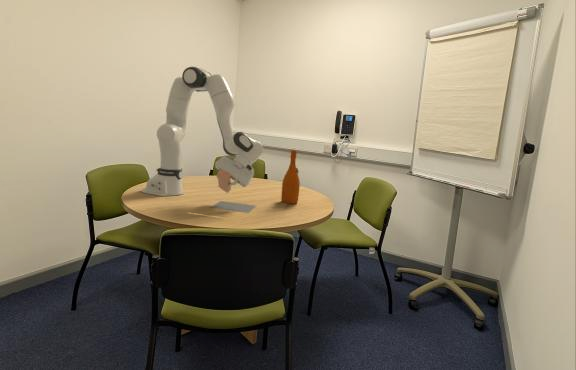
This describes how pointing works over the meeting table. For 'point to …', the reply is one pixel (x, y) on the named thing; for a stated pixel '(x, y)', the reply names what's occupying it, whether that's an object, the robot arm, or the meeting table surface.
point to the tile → (224, 180)
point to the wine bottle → (291, 182)
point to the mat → (233, 206)
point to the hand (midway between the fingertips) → (223, 181)
